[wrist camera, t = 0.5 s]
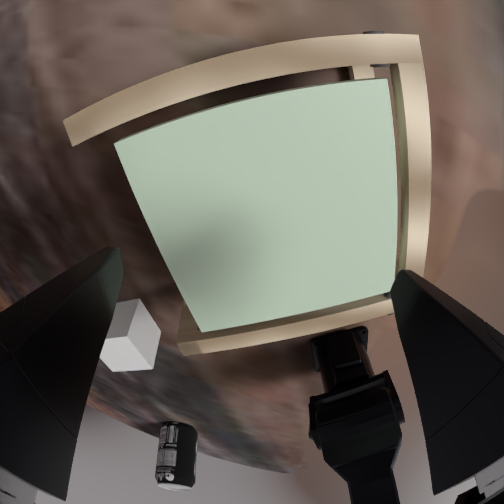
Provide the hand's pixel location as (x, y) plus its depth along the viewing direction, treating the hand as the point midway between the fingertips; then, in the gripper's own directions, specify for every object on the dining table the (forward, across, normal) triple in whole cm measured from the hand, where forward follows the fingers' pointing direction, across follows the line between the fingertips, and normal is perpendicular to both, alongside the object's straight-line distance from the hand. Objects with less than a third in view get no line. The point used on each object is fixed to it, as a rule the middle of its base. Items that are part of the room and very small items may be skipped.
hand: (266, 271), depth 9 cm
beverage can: (+14, +8, +46) cm, 49 cm away
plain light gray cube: (+14, +11, +18) cm, 25 cm away
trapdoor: (+7, -1, +2) cm, 8 cm away
